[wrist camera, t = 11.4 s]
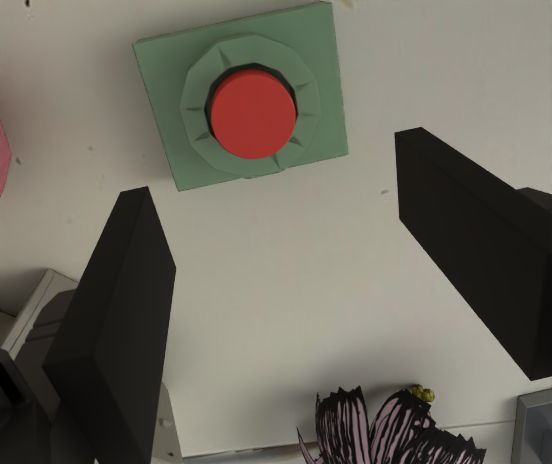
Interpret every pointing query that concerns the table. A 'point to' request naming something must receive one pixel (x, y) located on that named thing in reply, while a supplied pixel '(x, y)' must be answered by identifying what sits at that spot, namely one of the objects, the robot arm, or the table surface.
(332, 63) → the button box
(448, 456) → the decorative flower
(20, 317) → the digital clock
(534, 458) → the bracket
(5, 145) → the apple
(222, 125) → the button
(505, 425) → the table surface
